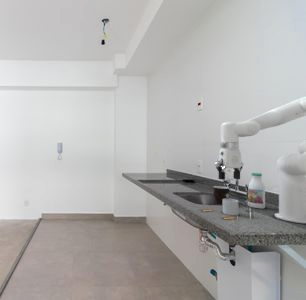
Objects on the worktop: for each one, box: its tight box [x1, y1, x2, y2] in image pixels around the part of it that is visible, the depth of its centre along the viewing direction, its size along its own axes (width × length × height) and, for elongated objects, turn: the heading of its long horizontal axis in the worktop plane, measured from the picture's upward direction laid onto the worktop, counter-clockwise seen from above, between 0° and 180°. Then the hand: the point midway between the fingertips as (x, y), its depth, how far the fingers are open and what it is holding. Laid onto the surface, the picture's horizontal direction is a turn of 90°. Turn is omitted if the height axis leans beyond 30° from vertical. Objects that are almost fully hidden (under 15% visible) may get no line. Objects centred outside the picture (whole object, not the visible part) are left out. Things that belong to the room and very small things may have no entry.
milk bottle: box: [247, 172, 266, 209], centre depth 122 cm, size 8×8×20 cm
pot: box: [221, 198, 240, 216], centre depth 109 cm, size 7×7×7 cm
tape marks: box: [201, 209, 236, 220], centre depth 107 cm, size 6×14×1 cm, turn 13°
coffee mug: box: [212, 185, 231, 205], centre depth 130 cm, size 12×9×10 cm
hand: (229, 179), depth 107 cm, fingers open, 9 cm apart
